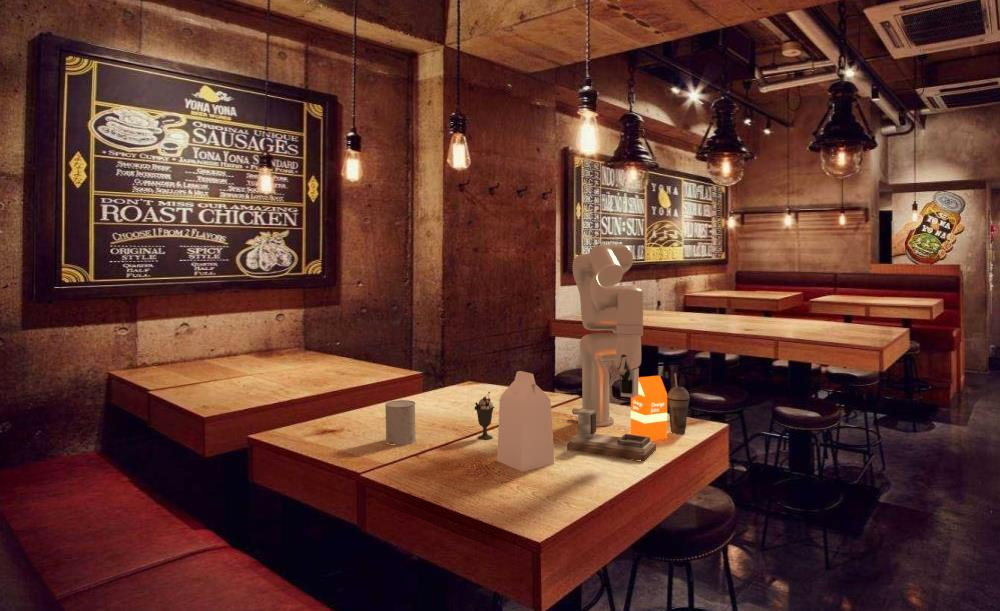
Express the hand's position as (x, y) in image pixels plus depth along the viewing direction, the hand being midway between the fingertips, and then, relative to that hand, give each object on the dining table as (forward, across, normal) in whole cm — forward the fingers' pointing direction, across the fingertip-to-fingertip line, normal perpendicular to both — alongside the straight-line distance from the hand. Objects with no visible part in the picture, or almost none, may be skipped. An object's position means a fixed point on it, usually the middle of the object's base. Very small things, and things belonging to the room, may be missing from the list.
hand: (629, 391), depth 187 cm
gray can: (+19, +22, -68) cm, 75 cm away
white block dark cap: (+1, 0, 0) cm, 1 cm away
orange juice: (+19, -20, 0) cm, 28 cm away
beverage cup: (+19, -30, +6) cm, 36 cm away
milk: (+19, +21, -23) cm, 37 cm away
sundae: (+19, +6, -47) cm, 51 cm away
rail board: (+19, -1, -6) cm, 20 cm away
